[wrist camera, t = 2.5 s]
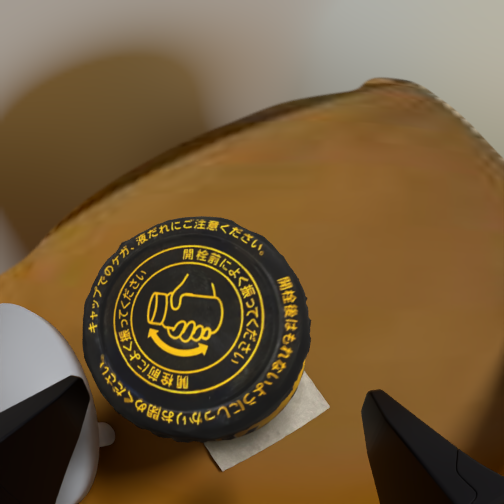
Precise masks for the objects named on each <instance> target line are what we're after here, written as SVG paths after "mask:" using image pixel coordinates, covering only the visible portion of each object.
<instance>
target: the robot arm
mask: <svg viewBox="0 0 504 504" xmlns="http://www.w3.org/2000/svg"><path fill="white" fill-rule="evenodd" d="M89 402H90V394H89V392H88V390H87V387H86V385H85V383H84V380H83V379H82V378H81V377H79V376H74V375H70V376H68V377H66V378H64V379H62V380H61V381H59V382H57V383H55V384H53V385H51V386H49V387H48V388H46V389H44V390H42V391H40V392H38V393H36V394H34V395H33V396H31V397H29V398H27V399H25V400H23V401H21V402H19V403H17V404H15V405H13V406H12V407H10V408H8V409H6V410H4V411H2V412H0V504H56V500H57V497H58V494H59V491H60V488H61V485H62V482H63V479H64V476H65V474H66V471H67V468H68V465H69V463H70V460H71V457H72V455H73V452H74V449H75V447H76V444H77V442H78V439H79V436H80V433H81V430H82V426H83V422H84V419H85V415H86V412H87V409H88V405H89ZM361 414H362V421H363V427H364V434H365V441H366V448H367V454H368V458H369V462H370V466H371V470H372V474H373V477H374V481H375V485H376V489H377V493H378V497H379V501H380V504H504V477H503V476H501V475H500V474H498V473H496V472H494V471H492V470H490V469H488V468H487V467H485V466H483V465H482V464H480V463H478V462H477V461H475V460H474V459H472V458H471V457H470V456H468V455H467V454H465V453H464V452H463V451H461V450H460V449H458V450H457V447H456V446H454V445H453V444H452V443H450V442H449V441H448V440H446V439H445V438H444V437H442V436H441V435H440V434H438V433H437V432H436V431H434V430H433V429H432V428H430V427H429V426H428V425H427V424H425V423H424V422H423V421H421V420H420V419H419V418H417V417H416V416H415V415H414V414H412V413H411V412H410V411H408V410H407V409H406V408H405V407H403V406H402V405H401V404H399V403H398V402H397V401H396V400H394V399H393V398H392V397H390V396H389V395H388V394H387V393H385V392H384V391H383V390H381V389H378V390H371V391H368V393H367V395H366V398H365V401H364V404H363V407H362V411H361Z"/></svg>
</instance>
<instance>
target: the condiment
mask: <svg viewBox="0 0 504 504" xmlns="http://www.w3.org/2000/svg"><path fill="white" fill-rule="evenodd" d="M306 300H307V297H306V296H305V293H304V290H303V288H302V286H301V284H300V282H299V279H298V278H297V276H296V274H295V273H294V271H293V270H292V269H291V268H290V266H289V265H288V263H287V262H286V260H285V258H284V256H282V255H281V254H280V253H279V252H278V251H277V250H276V248H275V247H274V246H273V245H272V244H271V243H270V242H269V241H268V240H267V239H266V238H265V237H263V236H261V235H259V234H257V233H254V232H252V231H249V230H247V229H245V228H243V227H241V226H239V225H238V224H236V223H235V222H233V221H232V220H228V219H224V218H217V217H202V216H201V217H186V218H178V219H173V220H168V221H166V222H163V223H161V224H157V225H155V226H153V227H151V228H150V229H148V230H146V231H144V232H142V233H139V234H138V235H136V236H135V237H133V238H131V239H130V240H128V241H125V242H122V243H121V245H120V247H119V249H118V250H117V251H116V253H115V254H113V255H112V256H111V257H110V258H109V259H108V260H107V261H106V262H105V264H104V265H103V266H102V268H101V269H100V271H99V273H98V276H97V277H96V279H95V281H94V283H93V285H92V288H91V291H90V293H89V295H88V297H87V299H86V301H85V305H84V317H83V351H84V358H85V361H86V363H87V366H88V368H89V369H90V371H91V373H92V376H93V378H94V380H95V382H96V384H97V386H98V388H99V390H100V392H101V393H102V395H103V396H104V397H105V399H106V400H107V401H108V402H109V403H110V404H111V405H112V406H113V407H114V410H115V411H116V412H117V413H118V414H121V415H122V416H123V417H124V418H126V419H127V420H129V421H130V422H132V423H134V424H135V425H136V426H137V427H139V428H141V429H146V430H149V431H151V432H152V433H153V434H155V435H157V436H159V437H163V438H172V439H173V440H175V441H177V442H192V441H197V442H201V443H204V445H205V446H206V448H207V449H208V451H209V452H210V454H211V455H212V457H213V459H214V460H215V461H216V463H217V464H218V465H219V467H220V468H221V470H222V471H224V470H226V469H228V468H230V467H232V466H234V465H236V464H238V463H239V462H241V461H243V460H245V459H247V458H249V457H251V456H253V455H255V454H256V453H258V452H260V451H262V450H263V449H265V448H267V447H268V446H270V445H272V444H274V443H276V442H277V441H279V440H281V439H282V438H284V437H285V436H286V435H289V434H290V433H292V432H294V431H295V430H297V429H298V428H300V427H302V426H303V425H305V424H306V423H307V422H309V421H310V420H312V419H313V418H315V417H317V416H318V415H319V414H321V413H322V412H324V411H325V410H327V409H328V408H329V407H330V406H329V405H328V403H327V402H326V401H325V399H324V398H323V396H322V395H321V393H320V392H319V391H318V389H317V388H316V387H315V385H314V384H313V382H312V381H311V379H310V378H309V377H308V376H307V374H306V373H305V371H304V368H305V361H306V356H307V354H308V352H309V348H310V342H311V338H310V325H311V320H310V319H309V317H308V307H307V305H306Z"/></svg>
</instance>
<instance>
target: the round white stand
mask: <svg viewBox="0 0 504 504" xmlns="http://www.w3.org/2000/svg"><path fill="white" fill-rule="evenodd" d="M70 375H74V376H79V377H81V378H82V379H83V380H84V383H85V385H86V387H87V390H88V392H89V394H90V402H89V405H88V409H87V412H86V415H85V419H84V422H83V426H82V430H81V433H80V436H79V439H78V442H77V444H76V447H75V449H74V452H73V455H72V457H71V460H70V463H69V465H68V468H67V471H66V474H65V476H64V479H63V482H62V485H61V488H60V491H59V494H58V497H57V500H56V504H78V503H79V502H80V501H82V500H83V498H84V497H85V496H86V495H87V493H88V492H89V490H90V488H91V486H92V484H93V482H94V479H95V475H96V472H97V467H98V461H99V447H103V446H107V445H111V444H112V443H113V442H114V440H115V432H114V430H113V428H112V427H111V426H110V425H109V424H107V423H104V422H100V423H98V421H97V414H96V409H95V405H94V401H93V397H92V393H91V390H90V387H89V384H88V381H87V378H86V376H85V374H84V371H83V369H82V366H81V364H80V362H79V360H78V359H77V357H76V355H75V353H74V351H73V350H72V348H71V347H70V345H69V344H68V342H67V341H66V339H65V338H64V337H63V336H62V334H61V333H60V332H59V331H58V330H57V329H56V328H55V327H54V326H53V325H52V324H51V323H49V322H48V321H46V320H45V319H43V318H42V317H40V316H38V315H36V314H35V313H33V312H31V311H29V310H27V309H25V308H23V307H21V306H18V305H15V304H6V303H3V304H0V412H2V411H4V410H6V409H8V408H10V407H12V406H13V405H15V404H17V403H19V402H21V401H23V400H25V399H27V398H29V397H31V396H33V395H34V394H36V393H38V392H40V391H42V390H44V389H46V388H48V387H49V386H51V385H53V384H55V383H57V382H59V381H61V380H62V379H64V378H66V377H68V376H70Z"/></svg>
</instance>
